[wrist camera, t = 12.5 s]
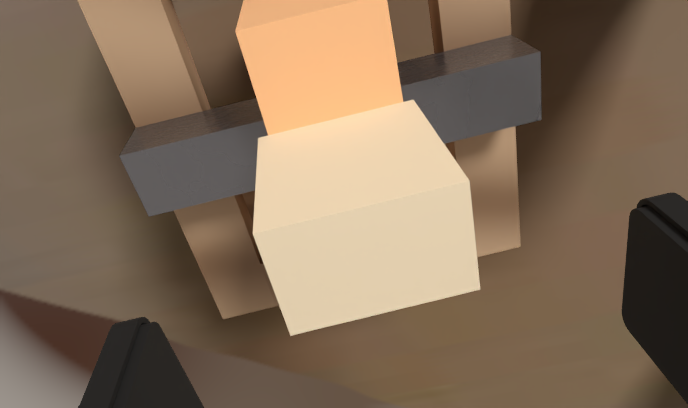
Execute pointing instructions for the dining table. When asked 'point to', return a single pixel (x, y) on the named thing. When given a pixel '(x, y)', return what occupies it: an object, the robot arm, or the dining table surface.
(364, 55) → the orange cream legged block
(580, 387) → the dining table surface
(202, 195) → the long charcoal crossbeam
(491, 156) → the shelf
